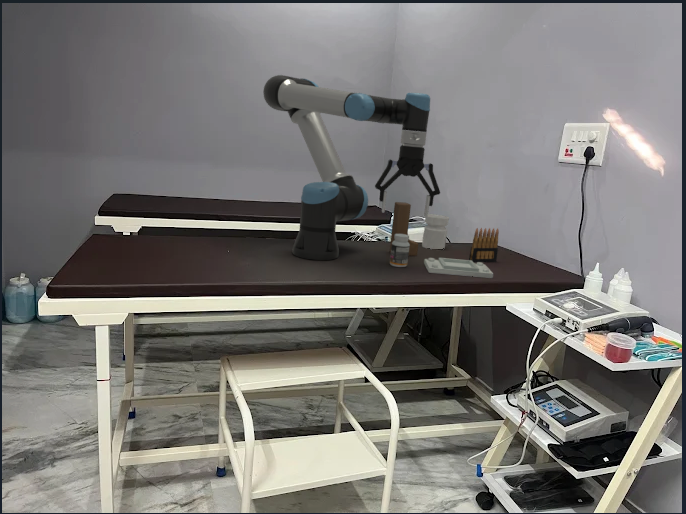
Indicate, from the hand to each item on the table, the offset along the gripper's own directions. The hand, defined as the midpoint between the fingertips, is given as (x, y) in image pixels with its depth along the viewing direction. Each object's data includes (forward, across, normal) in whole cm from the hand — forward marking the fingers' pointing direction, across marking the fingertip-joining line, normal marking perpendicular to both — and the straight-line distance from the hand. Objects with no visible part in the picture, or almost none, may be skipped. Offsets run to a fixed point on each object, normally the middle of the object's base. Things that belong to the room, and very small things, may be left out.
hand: (404, 214), depth 175 cm
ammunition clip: (+17, +31, +16) cm, 39 cm away
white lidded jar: (+17, +16, +33) cm, 41 cm away
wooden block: (+17, +3, +17) cm, 24 cm away
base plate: (+16, +19, -1) cm, 25 cm away
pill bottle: (+17, 0, 0) cm, 17 cm away
